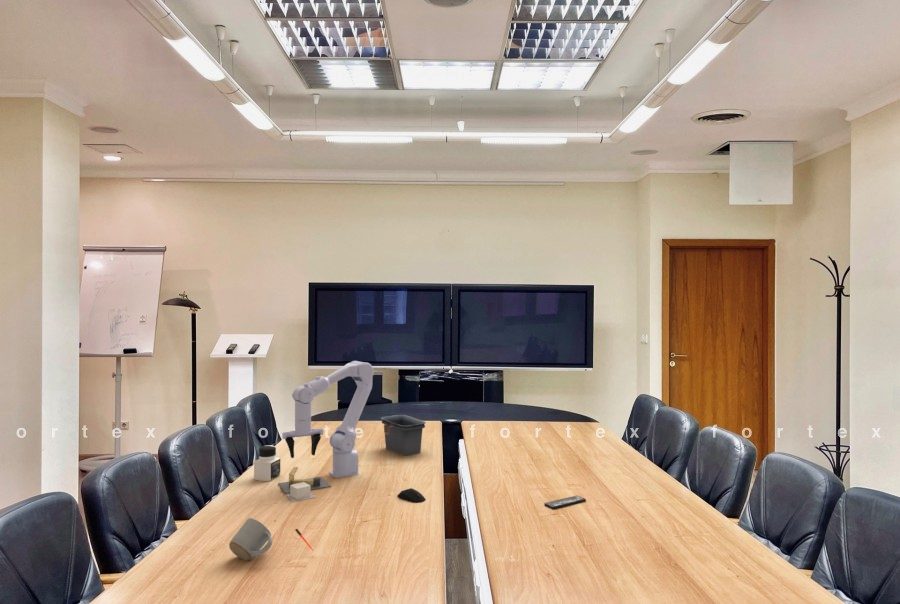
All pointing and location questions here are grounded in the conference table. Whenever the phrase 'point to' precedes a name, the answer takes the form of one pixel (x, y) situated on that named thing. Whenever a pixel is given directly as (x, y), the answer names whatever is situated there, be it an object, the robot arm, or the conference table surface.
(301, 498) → the felt pad
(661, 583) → the conference table surface
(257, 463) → the medicine bottle
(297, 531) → the pen
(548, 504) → the multiport hub
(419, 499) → the gaming mouse
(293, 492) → the cream foam cube
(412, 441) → the storage bin
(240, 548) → the ceramic mug
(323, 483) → the base plate
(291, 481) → the l-shaped bracket
